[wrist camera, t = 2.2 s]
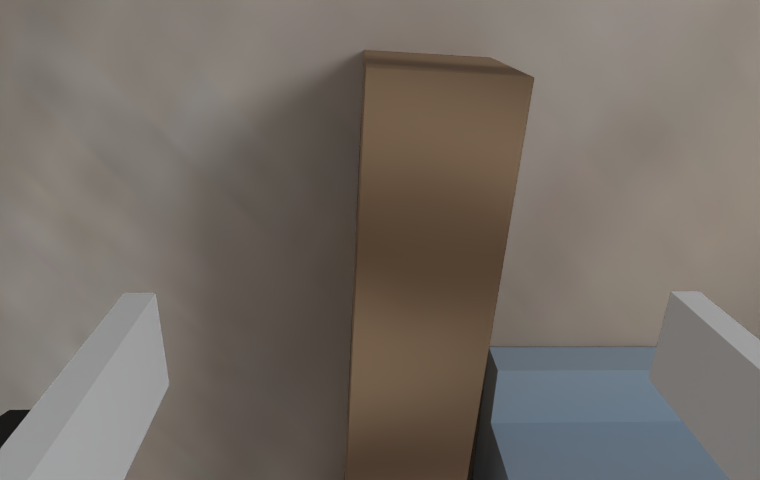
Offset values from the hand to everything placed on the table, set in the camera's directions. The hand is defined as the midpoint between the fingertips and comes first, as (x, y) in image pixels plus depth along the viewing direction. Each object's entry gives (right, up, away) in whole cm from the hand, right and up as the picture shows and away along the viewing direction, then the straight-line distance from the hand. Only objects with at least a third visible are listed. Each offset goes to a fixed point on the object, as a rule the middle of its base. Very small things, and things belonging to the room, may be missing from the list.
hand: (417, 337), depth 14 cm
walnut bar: (0, -2, +8) cm, 9 cm away
